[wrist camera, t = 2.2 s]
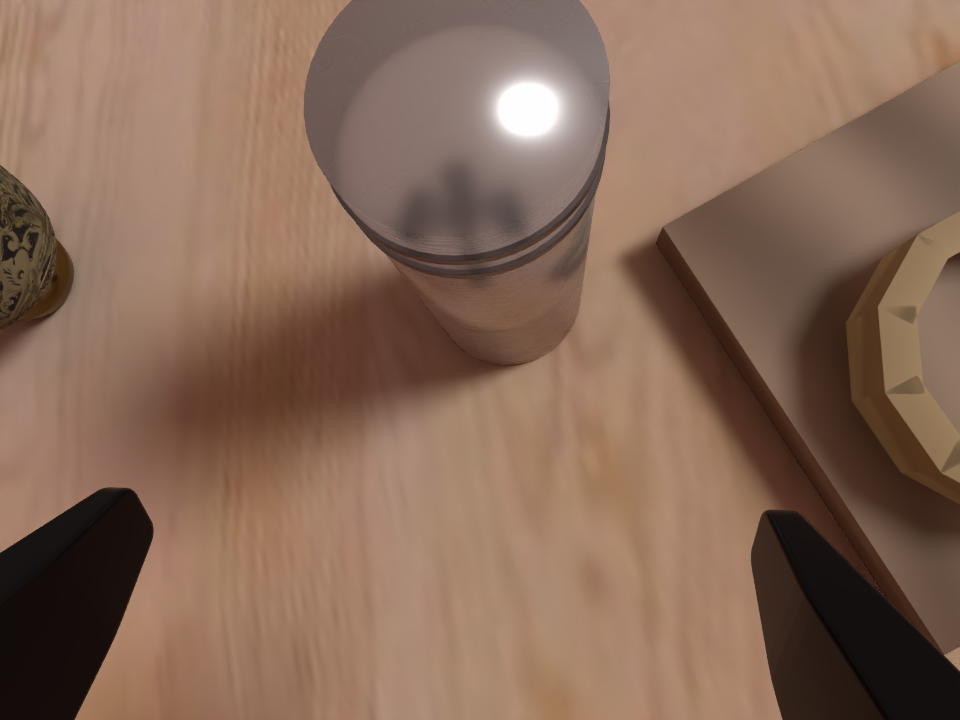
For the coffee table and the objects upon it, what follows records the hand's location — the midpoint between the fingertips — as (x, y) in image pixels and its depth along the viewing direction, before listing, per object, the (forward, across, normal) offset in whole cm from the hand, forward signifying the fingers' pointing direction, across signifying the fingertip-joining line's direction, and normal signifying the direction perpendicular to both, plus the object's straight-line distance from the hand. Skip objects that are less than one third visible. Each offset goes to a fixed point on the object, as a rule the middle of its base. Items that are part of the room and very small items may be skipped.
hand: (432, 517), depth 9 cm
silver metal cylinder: (+14, 0, +4) cm, 15 cm away
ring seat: (+14, -16, +5) cm, 21 cm away
